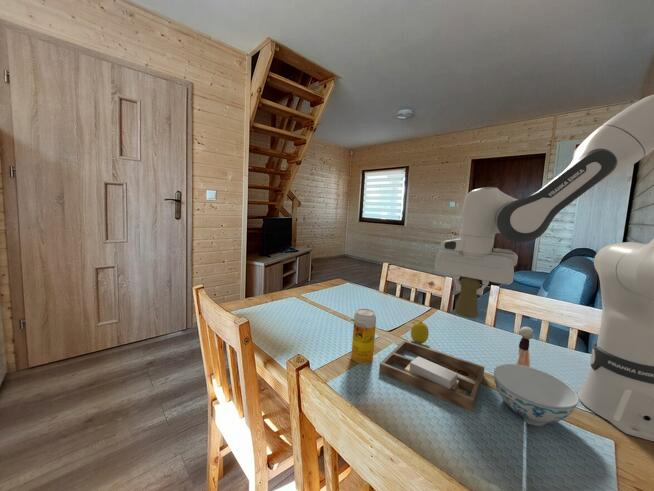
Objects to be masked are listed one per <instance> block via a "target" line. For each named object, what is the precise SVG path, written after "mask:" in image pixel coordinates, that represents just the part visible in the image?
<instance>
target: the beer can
mask: <svg viewBox="0 0 654 491" xmlns="http://www.w3.org/2000/svg"><path fill="white" fill-rule="evenodd" d="M353 314H354V316H353V330H352V341H351V342H352V344H351V357H350V358H351V359H352V361H354V362H356V363H358V364H370V363H372V362H373V360H374V350H375V340H376V339H375V337H376V336H375V335H376V326H377V325H376V324H377V316H376V312H375V311H374V310H372V309H368V308H358V309H356V311H355V313H353Z"/></svg>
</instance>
